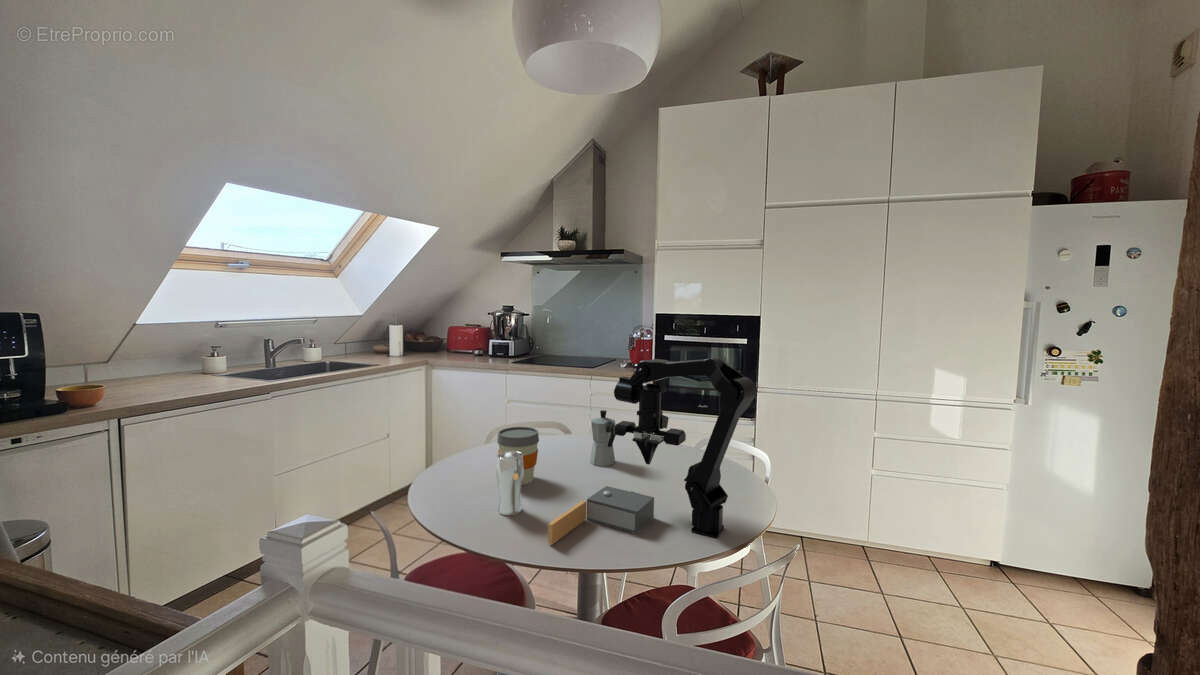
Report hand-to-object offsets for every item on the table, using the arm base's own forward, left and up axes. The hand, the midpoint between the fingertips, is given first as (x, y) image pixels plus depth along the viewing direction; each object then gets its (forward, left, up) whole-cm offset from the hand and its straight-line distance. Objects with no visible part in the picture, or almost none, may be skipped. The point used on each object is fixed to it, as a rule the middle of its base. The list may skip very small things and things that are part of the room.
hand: (648, 463), depth 131 cm
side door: (+11, +23, -12) cm, 28 cm away
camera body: (+3, +10, -12) cm, 16 cm away
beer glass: (+30, +21, -12) cm, 39 cm away
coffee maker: (+27, -24, -12) cm, 38 cm away
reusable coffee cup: (+42, +3, -12) cm, 44 cm away
